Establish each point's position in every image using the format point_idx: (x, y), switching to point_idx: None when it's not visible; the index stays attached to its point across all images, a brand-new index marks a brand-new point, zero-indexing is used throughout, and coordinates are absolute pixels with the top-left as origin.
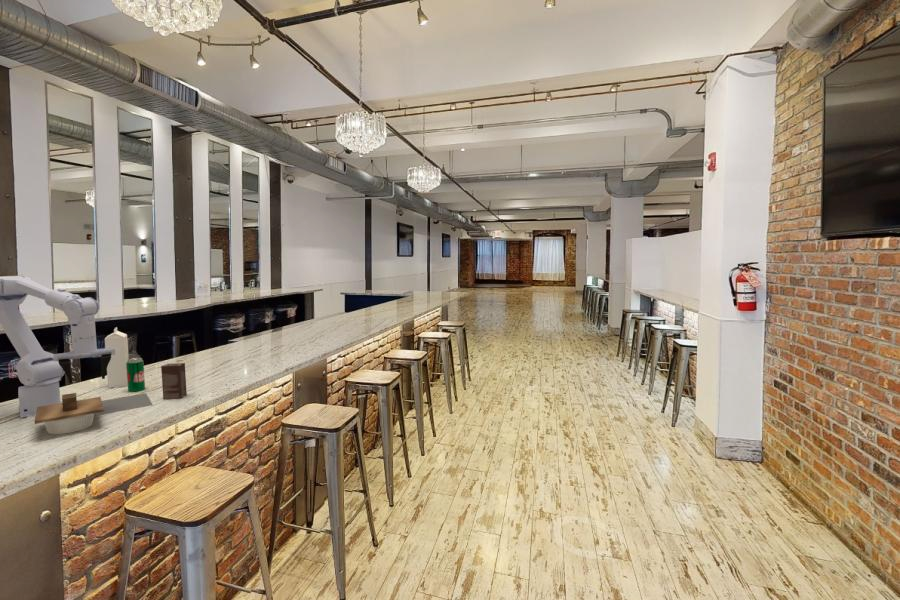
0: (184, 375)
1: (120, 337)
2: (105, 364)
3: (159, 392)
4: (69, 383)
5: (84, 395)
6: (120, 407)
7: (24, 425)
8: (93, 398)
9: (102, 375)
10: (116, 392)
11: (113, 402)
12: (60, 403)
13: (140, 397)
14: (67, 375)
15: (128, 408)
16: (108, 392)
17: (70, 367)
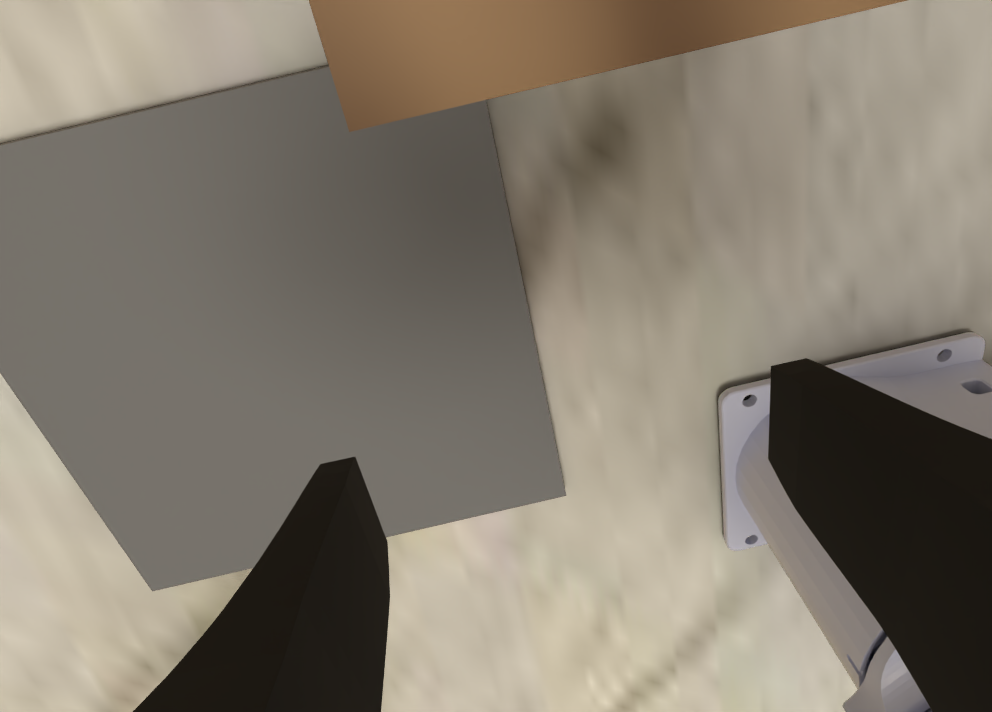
0: None
1: None
2: (183, 707)
3: (58, 604)
4: (812, 365)
5: (611, 684)
6: (234, 246)
7: (974, 104)
8: (424, 71)
9: (331, 491)
10: (417, 688)
11: (357, 437)
12: (817, 3)
13: (153, 495)
14: (944, 426)
15: (124, 163)
16: (472, 701)
17: (951, 694)
